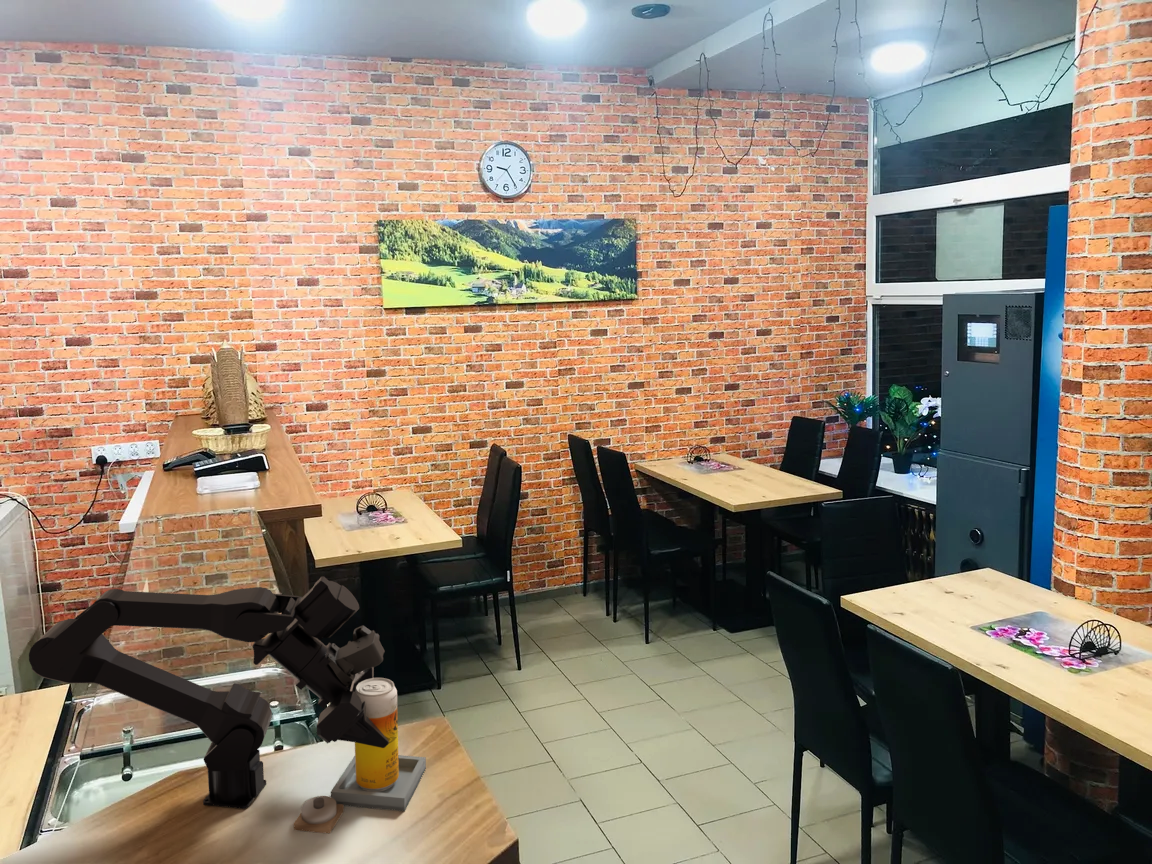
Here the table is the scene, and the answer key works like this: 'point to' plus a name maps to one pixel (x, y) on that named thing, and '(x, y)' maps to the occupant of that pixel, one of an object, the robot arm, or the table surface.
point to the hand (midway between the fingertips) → (389, 728)
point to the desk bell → (318, 815)
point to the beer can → (377, 763)
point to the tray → (388, 799)
